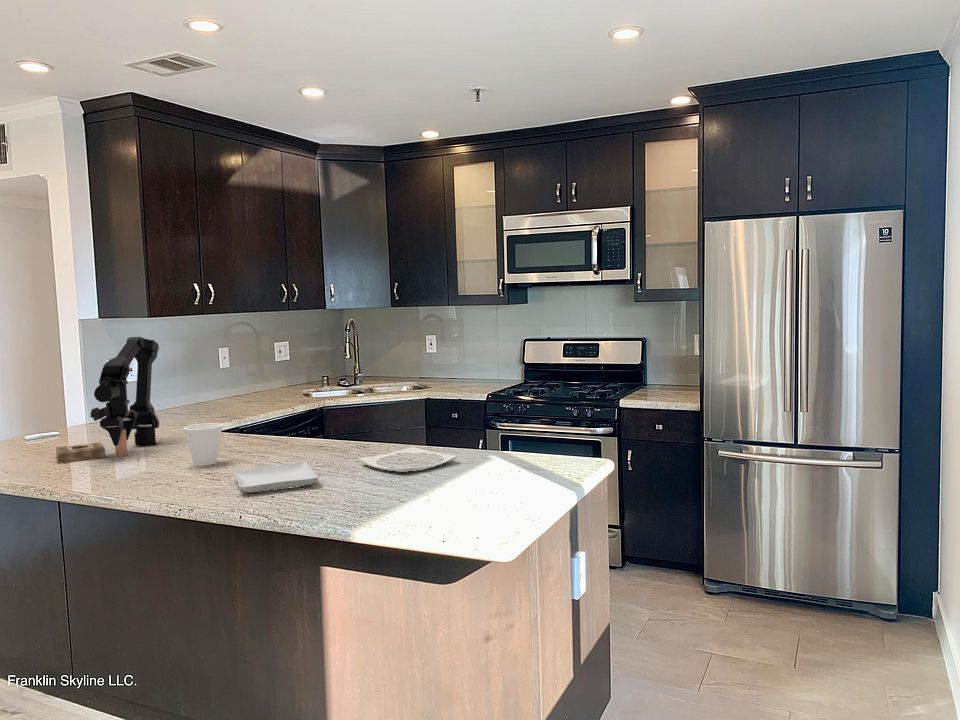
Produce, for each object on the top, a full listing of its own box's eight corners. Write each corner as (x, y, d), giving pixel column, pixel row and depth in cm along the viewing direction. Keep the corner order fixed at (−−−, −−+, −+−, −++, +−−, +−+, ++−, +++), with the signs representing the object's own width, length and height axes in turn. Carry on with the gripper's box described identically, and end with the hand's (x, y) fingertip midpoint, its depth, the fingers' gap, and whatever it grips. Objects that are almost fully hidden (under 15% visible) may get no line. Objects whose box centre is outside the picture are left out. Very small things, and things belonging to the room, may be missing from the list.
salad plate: (240, 498, 188) (239, 486, 188) (233, 481, 208) (232, 469, 207) (320, 488, 197) (319, 476, 196) (306, 472, 216) (306, 461, 216)
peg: (126, 454, 249) (125, 428, 248) (128, 455, 246) (126, 430, 245) (115, 455, 247) (113, 430, 246) (116, 457, 244) (114, 431, 243)
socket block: (101, 451, 256) (101, 441, 255) (105, 457, 244) (104, 447, 244) (56, 456, 248) (55, 446, 248) (58, 463, 236) (57, 453, 236)
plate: (413, 453, 240) (413, 445, 239) (463, 464, 222) (463, 455, 222) (352, 466, 223) (352, 458, 222) (401, 479, 205) (401, 470, 205)
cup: (232, 460, 234) (230, 423, 233) (207, 469, 222) (205, 430, 221) (203, 459, 237) (200, 422, 236) (177, 467, 226) (174, 428, 225)
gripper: (103, 395, 253) (106, 439, 254) (81, 403, 235) (85, 449, 236) (136, 394, 255) (139, 437, 256) (117, 401, 236) (120, 447, 237)
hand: (120, 443), depth 246 cm, fingers open, 9 cm apart
